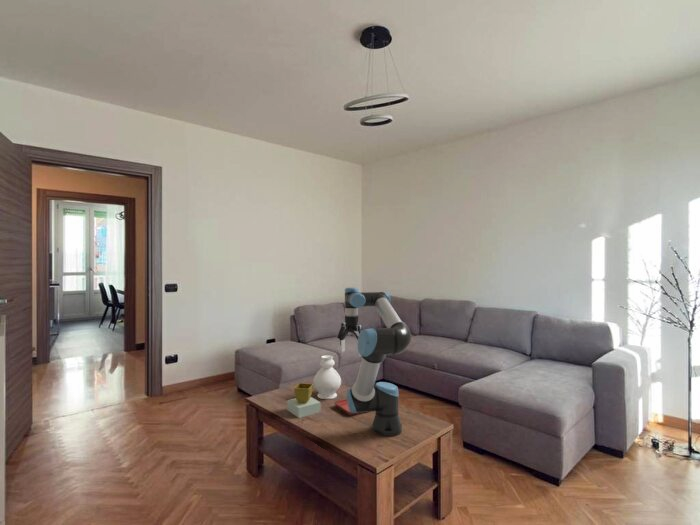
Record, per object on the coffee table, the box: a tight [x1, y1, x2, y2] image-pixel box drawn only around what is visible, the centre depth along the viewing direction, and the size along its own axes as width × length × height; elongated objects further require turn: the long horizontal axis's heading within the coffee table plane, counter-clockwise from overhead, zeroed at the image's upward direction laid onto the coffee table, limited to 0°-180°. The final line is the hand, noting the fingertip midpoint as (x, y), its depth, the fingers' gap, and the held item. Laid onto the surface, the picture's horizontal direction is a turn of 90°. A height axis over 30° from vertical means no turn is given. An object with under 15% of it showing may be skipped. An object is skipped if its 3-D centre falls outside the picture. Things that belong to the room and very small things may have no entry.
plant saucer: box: [333, 398, 364, 416], centre depth 222 cm, size 18×18×3 cm
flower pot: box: [293, 382, 314, 403], centre depth 219 cm, size 9×9×9 cm
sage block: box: [286, 396, 322, 419], centre depth 219 cm, size 14×14×6 cm
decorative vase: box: [312, 354, 342, 400], centre depth 243 cm, size 18×18×25 cm
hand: (351, 353), depth 212 cm, fingers open, 13 cm apart
